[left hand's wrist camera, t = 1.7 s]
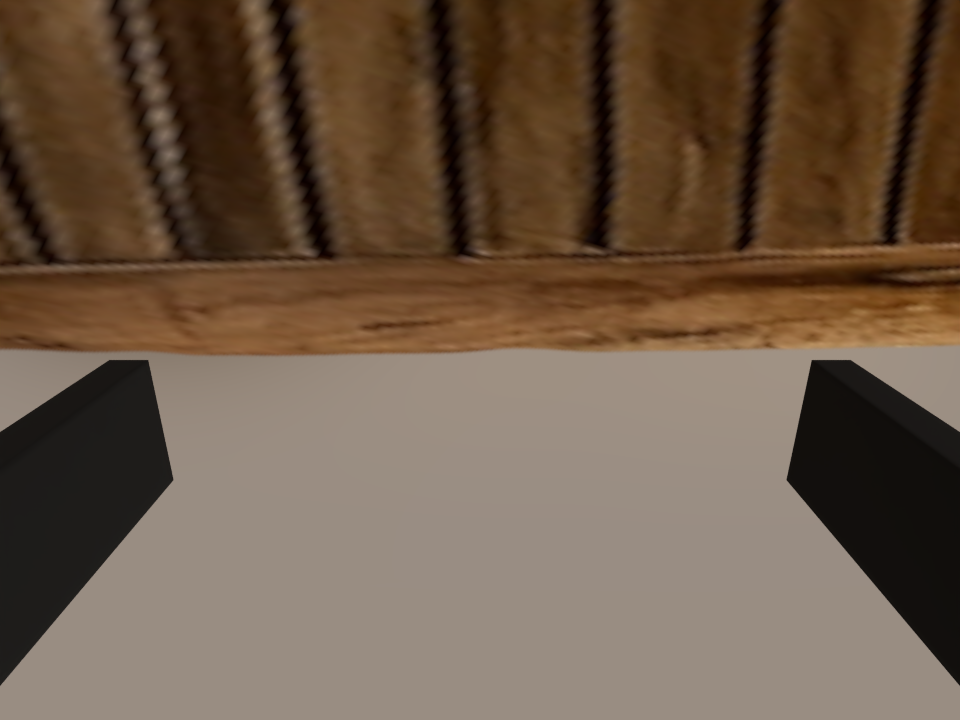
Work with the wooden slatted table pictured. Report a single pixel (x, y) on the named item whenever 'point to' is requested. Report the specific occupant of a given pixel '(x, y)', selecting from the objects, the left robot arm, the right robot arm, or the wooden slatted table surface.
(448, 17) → the wooden slatted table surface
